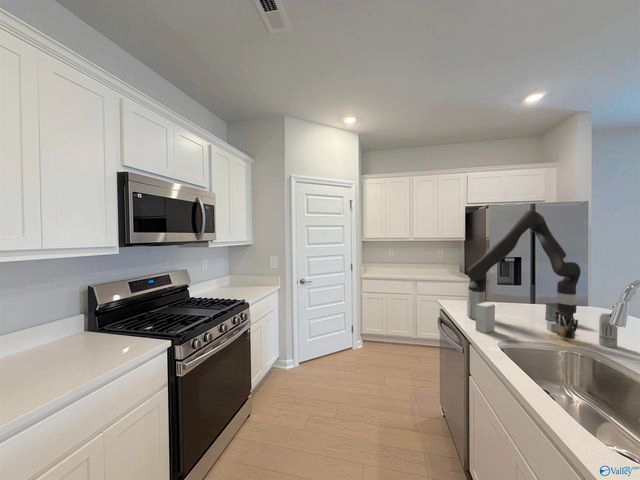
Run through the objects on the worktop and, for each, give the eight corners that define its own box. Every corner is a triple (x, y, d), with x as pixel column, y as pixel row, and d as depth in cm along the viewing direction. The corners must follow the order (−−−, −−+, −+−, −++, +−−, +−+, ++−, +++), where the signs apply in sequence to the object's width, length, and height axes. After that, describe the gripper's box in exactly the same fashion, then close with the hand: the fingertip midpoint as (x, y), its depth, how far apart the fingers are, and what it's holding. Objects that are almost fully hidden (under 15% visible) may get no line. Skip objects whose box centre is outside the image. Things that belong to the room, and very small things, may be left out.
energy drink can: (597, 345, 132) (598, 314, 132) (600, 342, 136) (601, 312, 136) (615, 350, 128) (616, 317, 127) (618, 346, 131) (619, 315, 131)
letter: (560, 346, 132) (560, 345, 132) (539, 333, 149) (539, 332, 149) (595, 349, 129) (595, 348, 129) (569, 335, 146) (569, 334, 146)
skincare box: (484, 327, 158) (484, 301, 157) (495, 331, 152) (495, 304, 152) (474, 330, 154) (475, 303, 153) (485, 333, 149) (485, 306, 148)
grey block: (551, 332, 150) (551, 323, 150) (546, 330, 154) (547, 321, 154) (566, 333, 148) (566, 324, 148) (561, 331, 152) (561, 322, 152)
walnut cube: (563, 338, 137) (563, 328, 137) (556, 334, 142) (556, 324, 142) (574, 339, 136) (575, 329, 136) (568, 335, 141) (568, 325, 141)
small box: (570, 325, 161) (571, 307, 161) (559, 325, 161) (559, 307, 161) (555, 319, 172) (555, 302, 171) (544, 319, 172) (545, 302, 171)
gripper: (549, 298, 146) (548, 330, 147) (566, 305, 132) (566, 341, 133) (565, 299, 145) (565, 331, 145) (585, 306, 131) (584, 342, 131)
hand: (565, 335), depth 139 cm, fingers closed on walnut cube, 5 cm apart
